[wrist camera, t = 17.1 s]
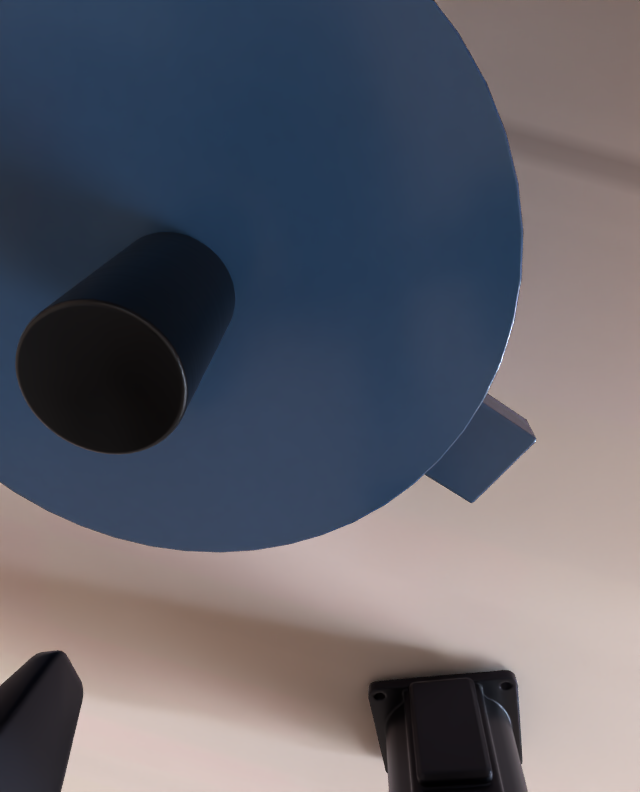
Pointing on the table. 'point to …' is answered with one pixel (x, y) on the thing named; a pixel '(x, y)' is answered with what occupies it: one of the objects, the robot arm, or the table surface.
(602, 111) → the table surface
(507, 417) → the pot
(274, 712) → the table surface
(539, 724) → the table surface
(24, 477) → the lid
